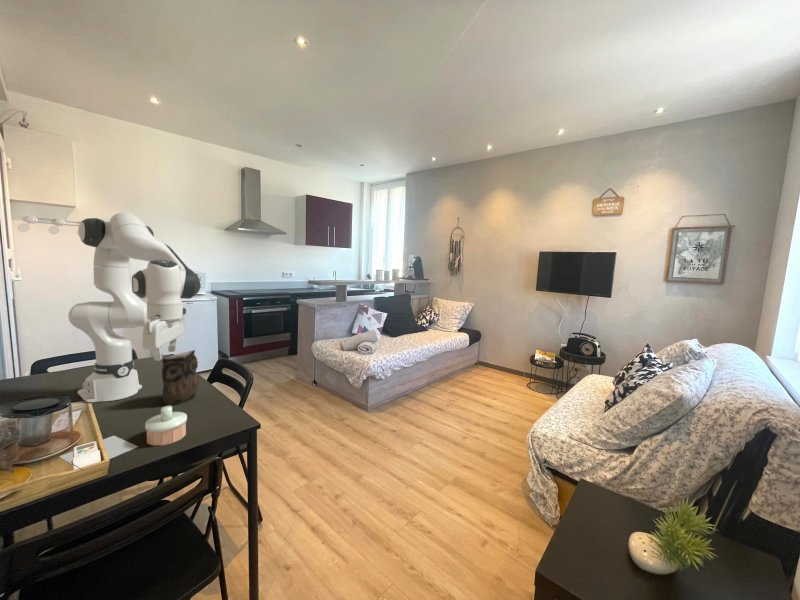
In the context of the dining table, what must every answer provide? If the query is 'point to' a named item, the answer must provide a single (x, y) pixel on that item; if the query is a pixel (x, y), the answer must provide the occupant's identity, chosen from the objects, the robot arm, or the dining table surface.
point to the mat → (108, 448)
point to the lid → (165, 420)
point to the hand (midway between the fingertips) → (165, 355)
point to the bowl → (166, 436)
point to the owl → (179, 378)
